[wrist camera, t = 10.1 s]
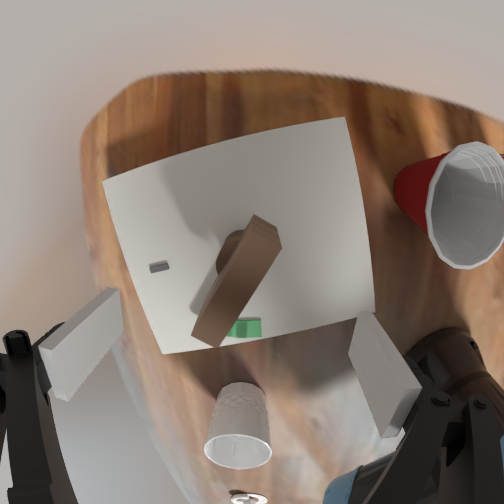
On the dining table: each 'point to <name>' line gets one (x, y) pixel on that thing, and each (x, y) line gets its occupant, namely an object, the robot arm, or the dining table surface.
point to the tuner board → (237, 218)
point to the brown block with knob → (236, 278)
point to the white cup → (239, 428)
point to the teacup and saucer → (248, 499)
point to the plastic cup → (457, 202)
